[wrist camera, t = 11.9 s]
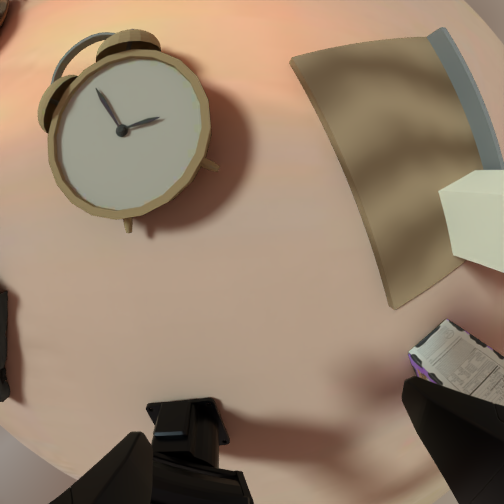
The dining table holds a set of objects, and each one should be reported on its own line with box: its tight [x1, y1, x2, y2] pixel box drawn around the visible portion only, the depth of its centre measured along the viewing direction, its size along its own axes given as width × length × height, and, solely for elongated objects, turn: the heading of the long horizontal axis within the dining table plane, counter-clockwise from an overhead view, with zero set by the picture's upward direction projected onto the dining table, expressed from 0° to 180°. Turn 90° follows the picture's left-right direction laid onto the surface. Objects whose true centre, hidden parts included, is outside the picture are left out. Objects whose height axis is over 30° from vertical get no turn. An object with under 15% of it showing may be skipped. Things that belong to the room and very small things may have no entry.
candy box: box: [408, 319, 504, 406], centre depth 16 cm, size 14×6×16 cm, turn 34°
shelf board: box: [289, 37, 484, 310], centre depth 19 cm, size 21×15×1 cm
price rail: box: [427, 27, 504, 170], centre depth 17 cm, size 21×1×4 cm, turn 25°
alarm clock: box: [38, 29, 220, 233], centre depth 16 cm, size 11×5×15 cm
